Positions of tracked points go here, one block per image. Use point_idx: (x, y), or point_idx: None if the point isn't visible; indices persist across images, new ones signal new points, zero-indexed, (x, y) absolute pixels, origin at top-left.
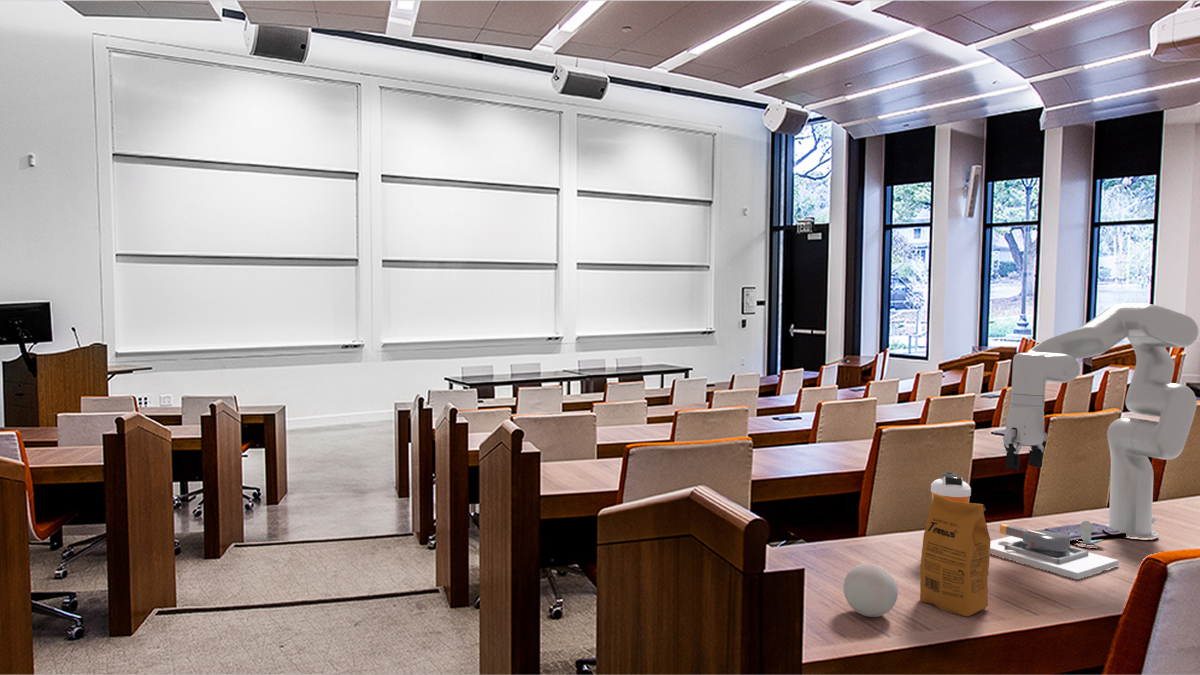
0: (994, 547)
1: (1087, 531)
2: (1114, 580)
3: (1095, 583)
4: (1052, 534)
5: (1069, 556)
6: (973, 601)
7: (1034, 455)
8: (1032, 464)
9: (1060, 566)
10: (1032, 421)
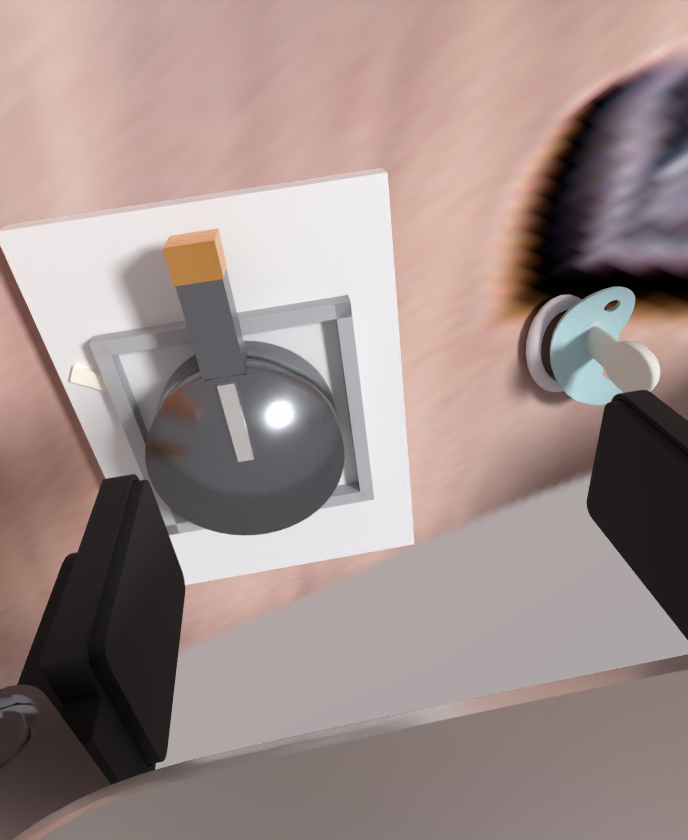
0: (56, 303)
1: (611, 370)
2: (271, 593)
3: (190, 597)
4: (295, 456)
5: None
6: None
7: (684, 551)
8: (607, 449)
9: None
10: None
